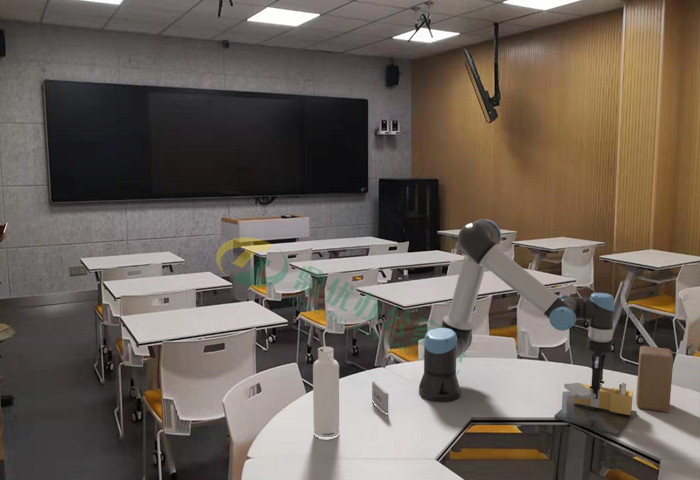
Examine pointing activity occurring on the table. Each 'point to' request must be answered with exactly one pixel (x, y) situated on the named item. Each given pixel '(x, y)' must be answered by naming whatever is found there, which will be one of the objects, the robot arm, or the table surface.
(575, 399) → the link
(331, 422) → the bottle
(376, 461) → the table surface
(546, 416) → the table surface
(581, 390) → the block
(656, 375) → the wooden block
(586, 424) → the base
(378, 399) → the cassette
